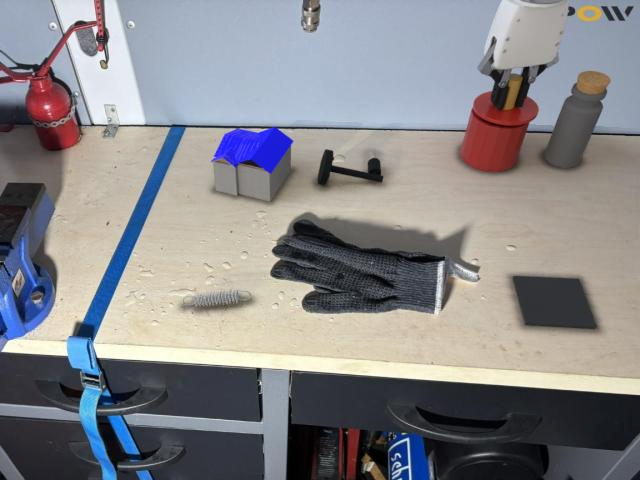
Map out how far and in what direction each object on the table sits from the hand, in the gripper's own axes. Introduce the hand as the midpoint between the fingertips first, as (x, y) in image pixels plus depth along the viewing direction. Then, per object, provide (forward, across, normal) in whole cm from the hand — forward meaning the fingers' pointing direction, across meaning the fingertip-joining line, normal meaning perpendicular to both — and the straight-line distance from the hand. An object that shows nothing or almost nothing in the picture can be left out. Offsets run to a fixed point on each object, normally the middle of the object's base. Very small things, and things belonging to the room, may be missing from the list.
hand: (506, 103), depth 100 cm
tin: (+10, 0, 0) cm, 10 cm away
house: (+10, +42, -2) cm, 44 cm away
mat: (+10, +6, +34) cm, 36 cm away
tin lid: (+1, 0, 0) cm, 1 cm away
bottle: (+11, -11, +3) cm, 16 cm away
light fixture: (+10, +26, -1) cm, 27 cm away
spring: (+10, +52, +26) cm, 59 cm away
